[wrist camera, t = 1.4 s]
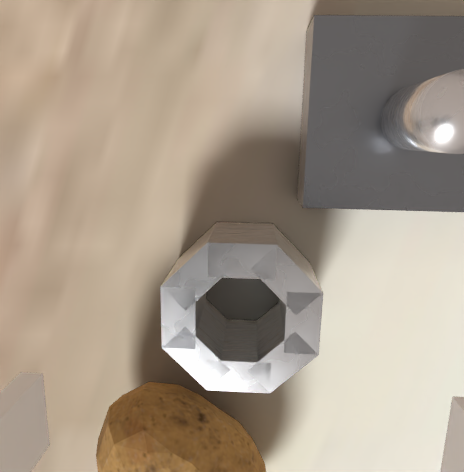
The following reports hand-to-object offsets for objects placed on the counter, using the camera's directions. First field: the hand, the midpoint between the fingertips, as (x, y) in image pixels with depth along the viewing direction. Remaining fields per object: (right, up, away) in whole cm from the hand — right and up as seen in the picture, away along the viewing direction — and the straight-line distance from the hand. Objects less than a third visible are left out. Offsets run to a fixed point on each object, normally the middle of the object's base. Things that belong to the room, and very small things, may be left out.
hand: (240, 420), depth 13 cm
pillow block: (+9, +12, +9) cm, 18 cm away
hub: (0, +3, +12) cm, 13 cm away
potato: (-3, -8, +15) cm, 17 cm away
